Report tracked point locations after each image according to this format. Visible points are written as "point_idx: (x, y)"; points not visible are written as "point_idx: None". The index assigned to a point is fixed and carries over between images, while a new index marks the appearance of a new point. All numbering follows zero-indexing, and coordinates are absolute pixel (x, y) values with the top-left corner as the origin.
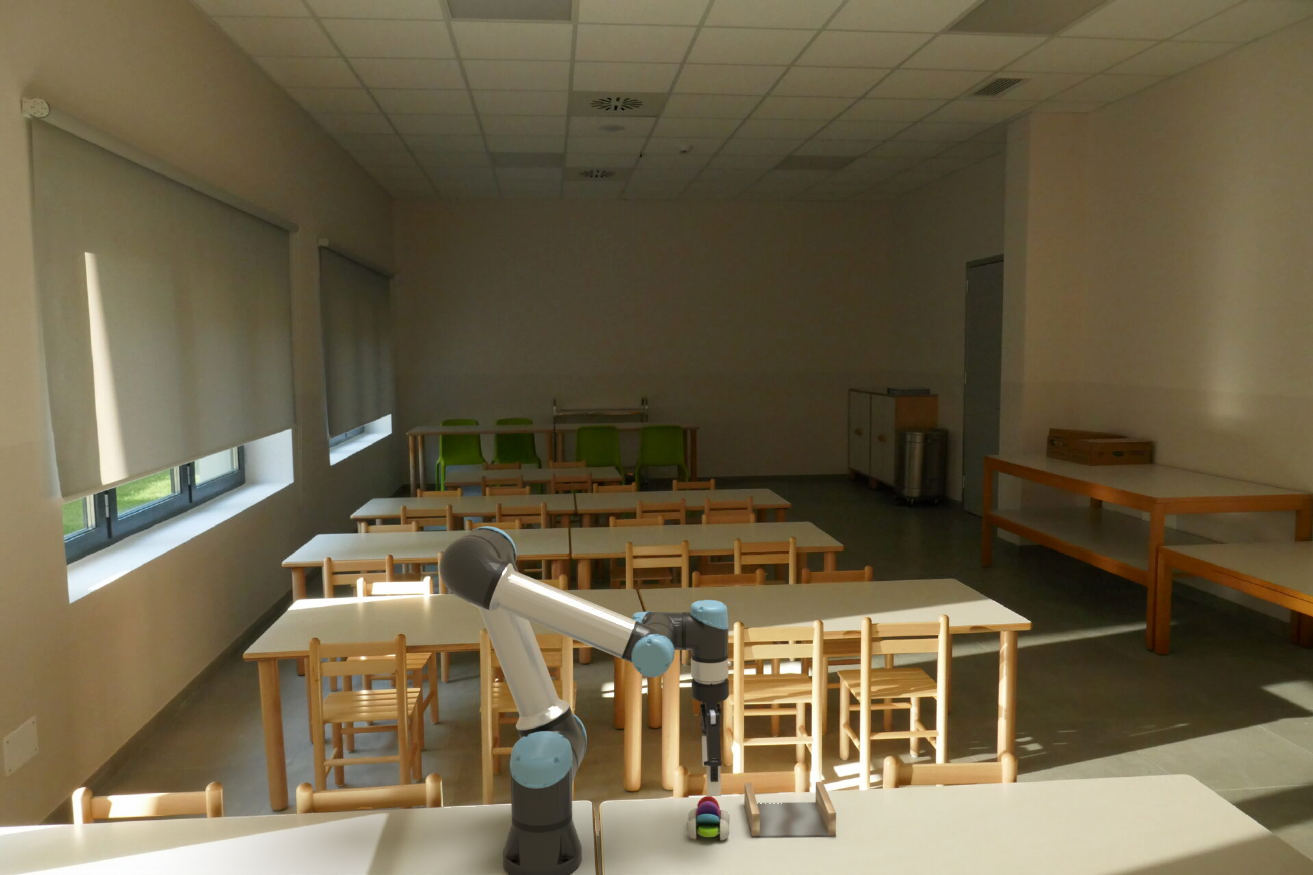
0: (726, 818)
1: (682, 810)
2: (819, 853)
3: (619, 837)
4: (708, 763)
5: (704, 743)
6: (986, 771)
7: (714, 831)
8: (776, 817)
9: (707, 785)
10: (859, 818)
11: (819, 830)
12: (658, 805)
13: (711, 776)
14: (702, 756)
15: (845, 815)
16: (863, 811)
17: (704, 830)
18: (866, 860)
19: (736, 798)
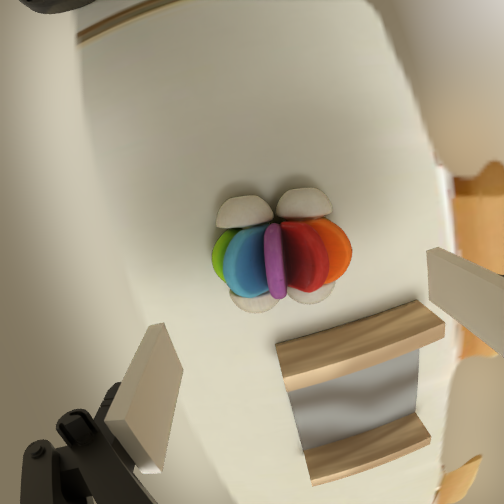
0: (296, 300)
1: (376, 157)
2: (242, 444)
3: (199, 31)
4: (30, 450)
5: (491, 295)
6: (452, 500)
7: (223, 280)
8: (361, 373)
9: (137, 351)
10: None
11: (317, 439)
12: (386, 94)
13: (105, 403)
14: (451, 262)
15: None
16: None
17: (216, 254)
18: (239, 485)
19: None
